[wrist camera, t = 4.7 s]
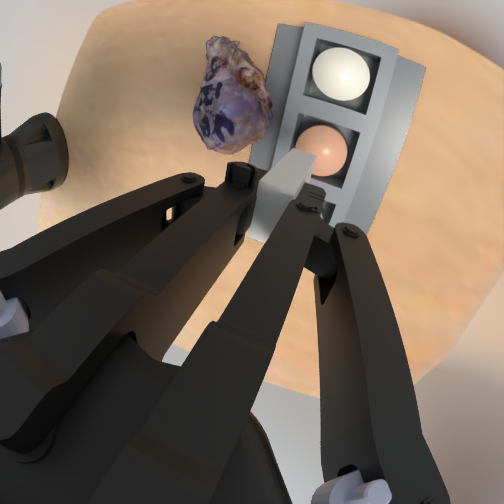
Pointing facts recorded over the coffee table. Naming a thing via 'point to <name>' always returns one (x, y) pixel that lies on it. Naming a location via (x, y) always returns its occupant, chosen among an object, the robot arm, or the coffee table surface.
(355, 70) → the button cream
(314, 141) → the button terracotta
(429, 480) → the robot arm
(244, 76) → the purple lumpy piece
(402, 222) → the coffee table surface
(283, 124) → the button panel
